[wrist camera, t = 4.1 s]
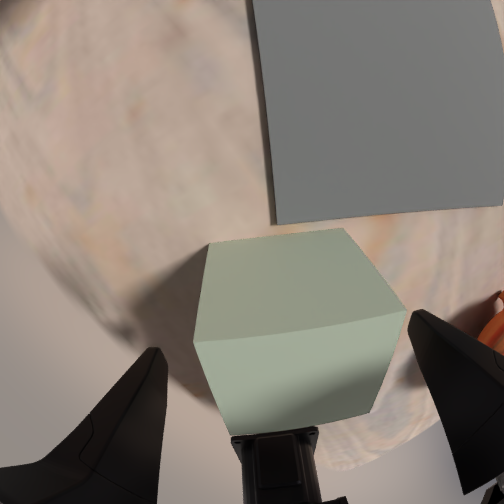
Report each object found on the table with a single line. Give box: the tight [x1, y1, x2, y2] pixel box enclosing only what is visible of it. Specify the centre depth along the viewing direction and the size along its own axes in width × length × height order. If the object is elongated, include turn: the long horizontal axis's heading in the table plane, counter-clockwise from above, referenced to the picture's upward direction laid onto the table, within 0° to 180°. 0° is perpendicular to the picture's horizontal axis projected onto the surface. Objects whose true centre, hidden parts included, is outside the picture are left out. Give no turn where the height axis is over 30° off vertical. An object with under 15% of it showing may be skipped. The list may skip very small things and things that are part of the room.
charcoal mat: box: [252, 0, 504, 225], centre depth 7 cm, size 12×12×1 cm
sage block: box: [193, 228, 407, 435], centre depth 9 cm, size 5×5×5 cm
